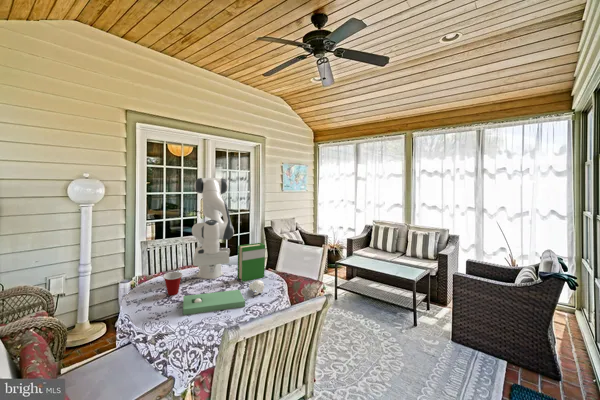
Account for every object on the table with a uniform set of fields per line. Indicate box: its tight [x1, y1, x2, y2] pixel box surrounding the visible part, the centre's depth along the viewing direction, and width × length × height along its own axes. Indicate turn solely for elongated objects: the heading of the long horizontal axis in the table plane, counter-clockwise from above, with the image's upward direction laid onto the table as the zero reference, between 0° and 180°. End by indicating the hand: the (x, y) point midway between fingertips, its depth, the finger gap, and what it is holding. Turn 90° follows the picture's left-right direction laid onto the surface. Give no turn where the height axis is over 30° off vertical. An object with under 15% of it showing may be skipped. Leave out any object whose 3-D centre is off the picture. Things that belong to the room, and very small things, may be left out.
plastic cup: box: [162, 271, 183, 296], centre depth 175 cm, size 11×11×12 cm
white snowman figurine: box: [248, 279, 265, 296], centre depth 181 cm, size 6×8×12 cm
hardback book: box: [237, 242, 266, 283], centre depth 206 cm, size 18×7×24 cm, turn 127°
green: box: [182, 289, 246, 316], centre depth 163 cm, size 18×32×3 cm, turn 112°
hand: (211, 271), depth 167 cm, fingers closed
